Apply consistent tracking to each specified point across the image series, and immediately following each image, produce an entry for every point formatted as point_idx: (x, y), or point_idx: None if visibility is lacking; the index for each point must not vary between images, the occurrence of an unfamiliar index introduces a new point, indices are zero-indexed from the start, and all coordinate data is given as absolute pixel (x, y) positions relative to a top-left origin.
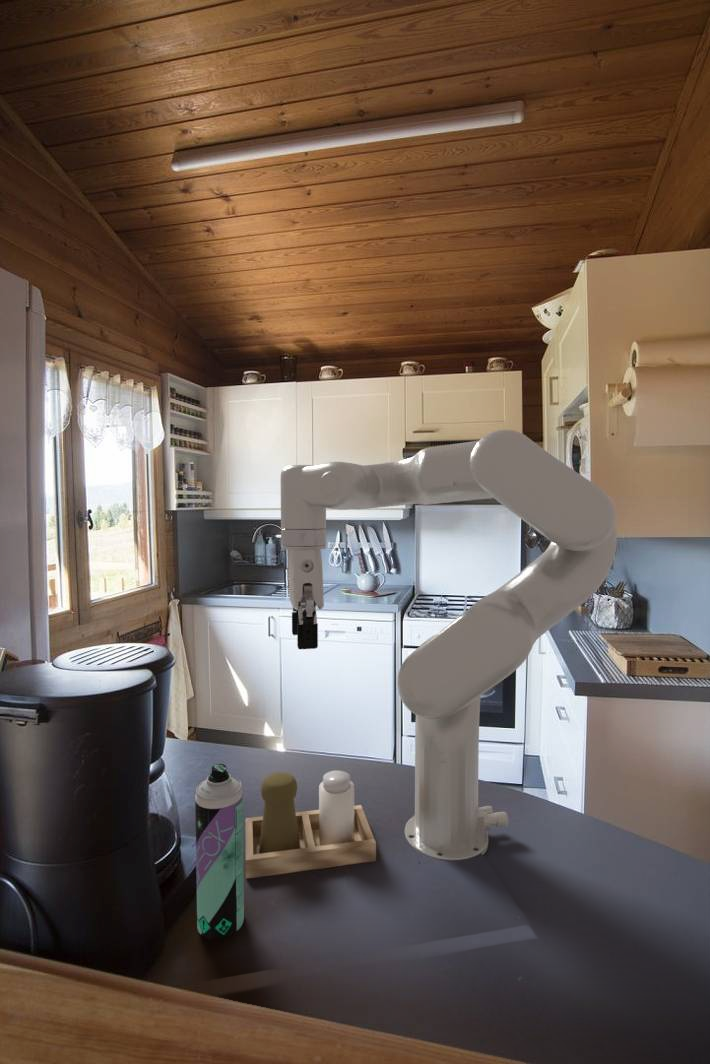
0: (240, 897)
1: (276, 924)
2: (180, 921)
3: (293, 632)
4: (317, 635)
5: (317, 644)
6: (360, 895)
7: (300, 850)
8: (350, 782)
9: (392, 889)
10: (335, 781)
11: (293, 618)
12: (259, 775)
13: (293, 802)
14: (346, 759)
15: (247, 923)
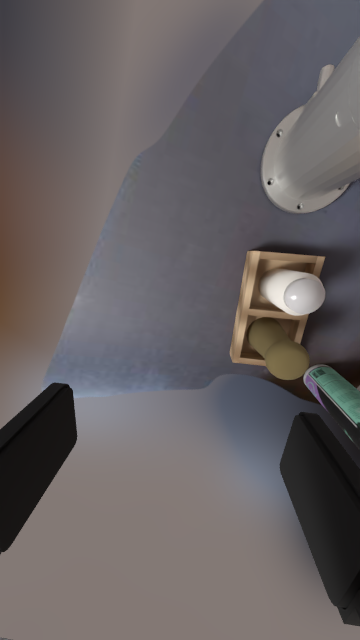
0: (347, 381)
1: (333, 345)
2: (299, 397)
3: (72, 447)
4: (353, 461)
5: (323, 422)
6: (337, 280)
7: (301, 327)
8: (299, 275)
9: (344, 251)
10: (316, 301)
11: (26, 516)
12: (124, 328)
13: (287, 339)
14: (106, 225)
15: (322, 361)
